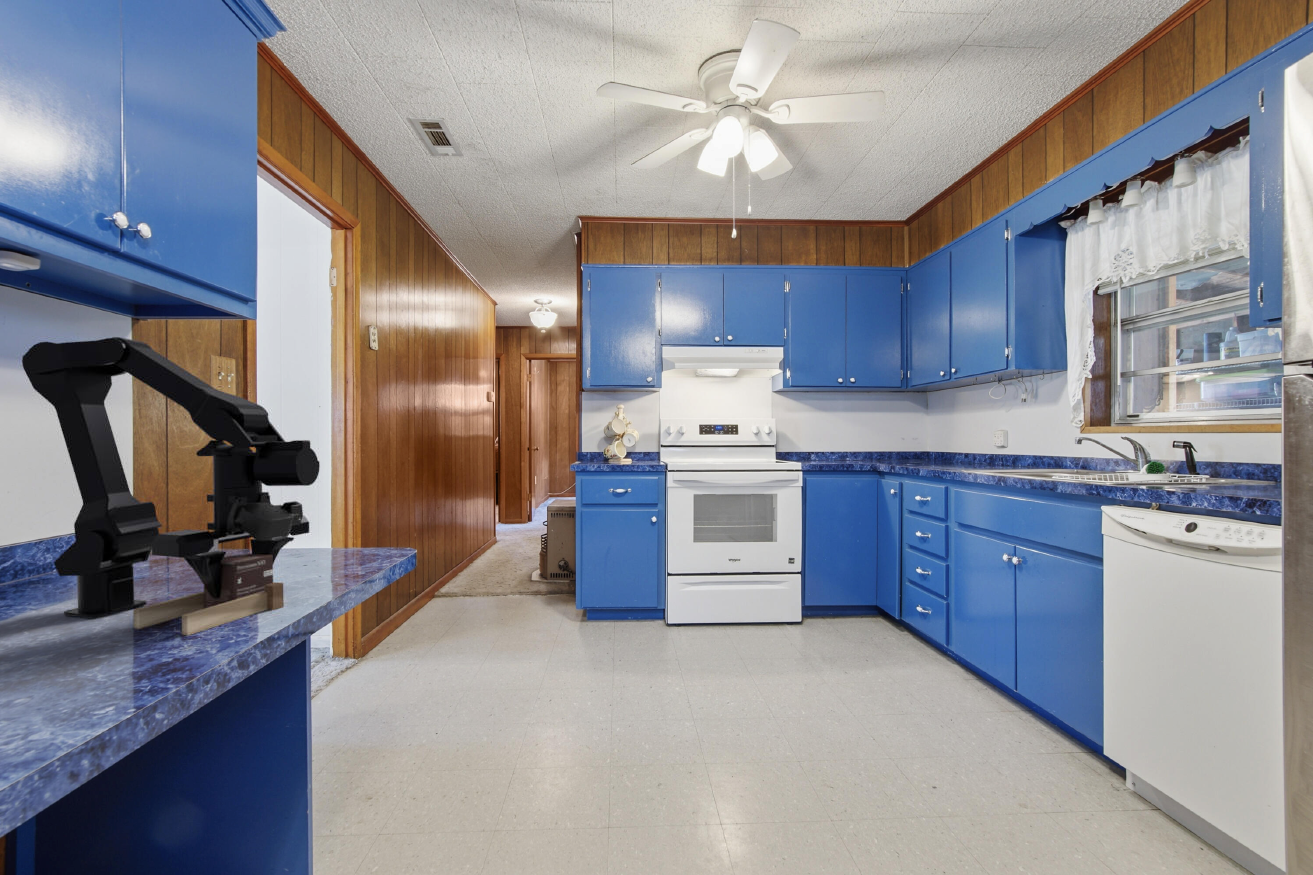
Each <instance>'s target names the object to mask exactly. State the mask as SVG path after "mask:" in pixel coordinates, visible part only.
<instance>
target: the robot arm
mask: <svg viewBox="0 0 1313 875" xmlns="http://www.w3.org/2000/svg"><path fill="white" fill-rule="evenodd" d="M21 362H22V369H23V370H24V373H25V375H26V376H27V378H28V381H29V382H30V384H31V386H32V388H33V389H34V390H35V392H37V393H38V394H39V395H41V396H42V397H43V398H44V399H45V400H46V401H47V402H48V403H49V404H51V405H52V406H53V407H54V409H55V412H56V415H57V418H58V422H59V425H60V428H61V432H62V436H63V438H64V442H65V446H66V449H67V453H68V456H69V459H70V460H69V461H70V463H71V465H72V469H73V473H74V476H75V480H76V483H77V486H78V490H79V494H80V496H81V499H82V506H81V507H80V510H79V512H78V514H77V517H76V519H75V521H74V524H73V527H74V536H75V541H74V542H73V543H72V544H71V545H70V546H69V547H68V548H66V550H65V551H64V552H63V553H62V554H60V555H59V557H58V558H56V559H55V561H54V563H53V564H54V567H55V569H56V572H57V574H58V576H59V577H70V576H71V577H74V576H76V577H77V578H76V583H77V584H76V587H77V607H76V608H71V609H68V610H65V611H63V615H65V616H72V617H78V618H89V619H94V618H99V617H103V616H104V617H105V616H107V615H110V614H115V613H119V612H122V611H127V610H131V609H135V608H137V607H138V608H139V607H143V606H147V601H146V600H140V599H135V578H134V575H135V574H134V565H135V564H138V563H144V562H148V559H149V557H150V555H152V556H158V557H159V556H161V557H168V558H169V557H170V558H177V559H178V558H181V559H184V560H185V561H186V562H187V564H188V565H189V567H190V568H192V570H193V571H194V573H196V575H197V577H198V578H199V580H200V581H201V583H202V584H203V587H204V586H205V588H206V589H207V591H208V592H209V594H210V596H211V597H212V598H214V599H218V598H220V593H221V560H222V559H223V557H226V556H225V555H226V554H227V551H222V550H219V544H223V543H228V542H234V541H240V540H245V539H249V540H250V541H249V542H250V548H251V554H265V555H273V564H274V563H275V561H276V559H277V557H278V554H279V553H280V551H281V550H282V548H283V547H285V546H287V544H288V543H290V542H294V540H295V536H299V535H303V534H309V533H310V521H309V520H308V518H307V517H306V516H305V515H304V512H303V504H302V503H300V502H299V501H294V500H293V501H288V502H287V501H286V502H284V503H282V504H277V505H274V504H273V503H272V502H271V495H270V494H269V491H263V485H265V486H266V487H267V486H268V487H291V486H292V487H297V486H299V487H300V486H301V487H303V486H308V487H309V486H311V485H313V484H314V483H315V482H316V481H317V479H318V476H319V472H320V468H321V466H320V461H319V460H318V457H317V454H316V452H315V450H313V449H312V447H311V440H309V439H308V440H305V439H303V440H299V439H298V440H295V439H294V440H291V441H285V438H283V437H282V435H281V433H280V432H279V431H278V430H277V429H276V427H274V424H272V423H271V421H270V420H269V413H268V411H267V410H266V408H264V407H263V405H262V406H261V405H260V404H257V403H256V402H253V401H250V400H248V399H246V398H243V397H241V396H237V395H234V394H231V393H228V392H225V391H222V390H220V389H217V388H215V387H213V386H211V385H210V384H208V383H207V382H205V381H203V380H202V379H200V378H199V377H198V376H195V375H194V374H192V373H190V372H189V371H187V370H186V369H184V368H183V367H181V366H179V365H178V364H176V363H175V362H173V361H172V360H170V359H168V358H167V357H165V356H163V355H161V353H159V352H157V351H155V350H154V349H153V348H152V347H151V346H150V345H148V344H147V343H146V342H144V341H140V340H134V339H130V338H124V337H119V336H113V337H107V338H102V339H97V340H87V341H86V340H84V341H83V340H82V341H70V342H69V341H68V342H60V343H59V342H52V341H39V342H38V343H36V344H34V345H32V346H31V347H30V348H29V349H28V350H27V351H26V353H24V354H23V355H22V360H21ZM125 374H129V375H130V376H132V377H134V378H135V379H137V380H138V381H139V382H142V383H143V384H145V385H147V386H148V387H150V388H151V389H153V390H154V391H156V392H158V393H160V394H161V395H162V396H164V397H165V398H168V399H169V400H171V401H172V402H174V403H175V404H177V405H178V406H180V407H182V408H183V409H184V410H186V411H187V413H188V414H189V416H190V418H191V420H192V422H193V424H195V425H196V426H197V427H198V428H199V429H200V430H202V431H203V432H204V433H205V435H206V436H208V437H209V438H211V440H209V441H208V443H207V444H206V445H204V446H203V447H201V448H200V449H199V450H198V451H196V454H195V455H196V456H197V457H212V481H213V482H212V483H213V484H212V486H213V487H212V493H210V494H206V502H207V503H212V505H213V509H212V510H213V521H211V522H207V524H206V527H207V528H206V530H202V529H201V530H198V529H182V530H176V531H170V532H168V531H167V532H163V533H160V532H159V531H160V530H159V528H161V527H162V526H163V525H162V524H161V522H160V520H159V519H158V517H157V512H156V505H155V504H154V503H153V501H147V502H145V501H144V502H140V500H138V499H137V498H136V497H135V496H134V495H132V493H131V491H130V487H129V484H128V480H127V477H126V474H125V469H124V467H123V463H122V460H121V457H120V454H119V450H118V446H117V443H116V440H115V437H114V433H113V432H114V431H113V428H112V425H111V422H110V419H109V416H108V413H107V410H106V406H105V401H106V399H107V396H108V394H109V392H110V390H111V388H112V386H113V382H112V379H113V378H112V377H117V376H121V375H125ZM225 442H227V443H228V444H227V443H225ZM251 448H255V451H254V450H252V449H251ZM289 535H290V536H289ZM293 536H294V537H293Z"/></svg>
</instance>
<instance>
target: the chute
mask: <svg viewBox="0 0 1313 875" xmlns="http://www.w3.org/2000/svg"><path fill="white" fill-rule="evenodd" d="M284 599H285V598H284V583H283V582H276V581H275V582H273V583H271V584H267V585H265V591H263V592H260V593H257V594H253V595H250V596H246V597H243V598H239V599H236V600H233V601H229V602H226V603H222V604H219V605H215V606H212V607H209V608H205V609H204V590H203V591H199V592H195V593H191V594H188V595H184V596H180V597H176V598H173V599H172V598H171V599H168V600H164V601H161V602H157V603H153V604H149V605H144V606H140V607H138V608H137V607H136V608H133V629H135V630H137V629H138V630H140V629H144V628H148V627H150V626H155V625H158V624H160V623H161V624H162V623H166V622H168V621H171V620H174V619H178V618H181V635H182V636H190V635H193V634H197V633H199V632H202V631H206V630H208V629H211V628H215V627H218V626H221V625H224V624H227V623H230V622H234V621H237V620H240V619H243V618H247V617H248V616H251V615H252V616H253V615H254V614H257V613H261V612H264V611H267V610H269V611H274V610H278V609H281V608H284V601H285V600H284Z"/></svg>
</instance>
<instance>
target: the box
mask: <svg viewBox="0 0 1313 875" xmlns="http://www.w3.org/2000/svg"><path fill="white" fill-rule="evenodd" d="M273 572H274V563H273V555H265V554H252V553H242V554H235V555H229V556H228V555H227V556H224V557H223V559H222V560H221V593H220V598H218V599H214V598H212V597H211V596H210V594H209V592H208V591H207V589H206V588H205V586H204V585H203V591H204V609H205V608H209V607H212V606H215V605H219V604H222V603H226V602H229V601H233V600H236V599H239V598H243V597H246V596H250V595H253V594H257V593H260V592H263V591H265V585H267V584H271V583H274V573H273Z"/></svg>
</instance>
